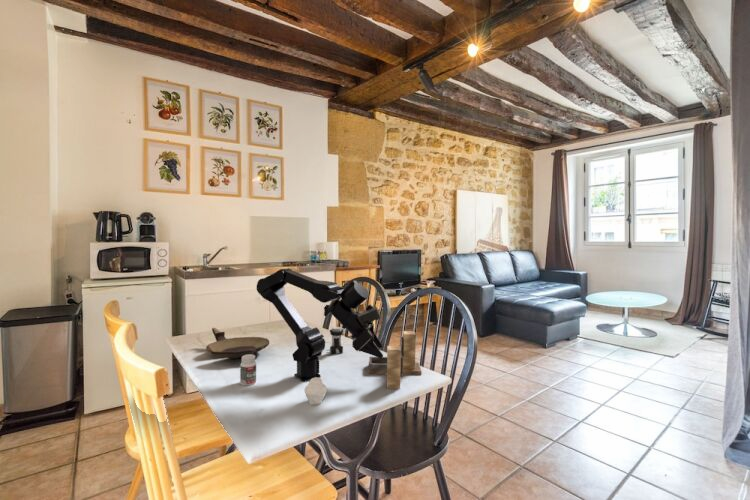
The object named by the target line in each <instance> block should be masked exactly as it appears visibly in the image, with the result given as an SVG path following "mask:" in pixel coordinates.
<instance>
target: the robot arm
mask: <svg viewBox="0 0 750 500" xmlns="http://www.w3.org/2000/svg"><path fill="white" fill-rule="evenodd" d="M287 284H290V285H292V286H294V287H297V288H299V289H301V290H303V291H305V292H308V293H309V294H311V296H312V297H313V298H314V299H316V300H317V301H319V302H320V303H322V304H324V303H329V302H332V303H330V304H325V306H324V307H323V310H324V312H323V316H324V317H327V316H328V315H329V314H331V315H332V316H333V318H335V319H336V321H337V322H339V323H340V324H341V329H342V330H346V331H347V332H349V334H351V338H352V345H351V347H352V348H353V349H354V350H355V351H356V352H362V353H365V354H369V355H371V356H372V357H379V358H382V357H384V354H383V352H381V350H380V349H382V348H383V343H382V342H381V341H380V339H379V337H378V336H377V334H376V332H375V330H374V329H375V324H374V321H378V320H380V319H381V314H380V311H379V309H378V307H377V306H373V305H372V304H369V305H366V306H365V307H366V308H365V310H363V312H361V313H360V311H358V310H355V309H357V308H358V307H359V306H361V304H363V303H364V302H365V301H366V300H367V299H369V297H370V294H369V291H368V289H367V288H366V287H365V286H364V285H363V284H361V283H359V282H358V281H357V280H352V281H351V282H349V284H348V285H347V286H346V287H345V288H344V287H342V286H340V285H339V284H338V283H337V282H334V281H328V280H319V279H315V278H313V277H310V276H308V275H305V274H303V273H300V272H297V271H295V270H293V269H292V268H281V269H278V270H276V272H274V273H272V274H270V275H267V276H266V277H263V278H260V279H258V281H257V283H256V288H255V289H256V291H257V293H258V294H259V295H260V296H261V297H262V298H263V299H264V300H266V301H268V302H270V303H272V305H273V306H274V307H275V309H276V310H277V312H278V314H280V316H281V317H282V319H283V320H284V321H285V323H286V325H287V326H288V327H289V328H290V330H291V332H292V333H293V334H294V336H295V342H296V344H295V345H296V347H297V349H296V350H295V351H294V352H293V353H292V358H293V361H294V362H296V373H294V377H295V378H297V379H298V380H300V381H302V382H308V381H310V380H311V379H312V378H315V377H317V378H320V377H322V375H321V374H320V361H319V357H320V356H322V353H323V352H324V350H325V349H326V340H325V338H324V337H325V335H323V334H322V333H321V331H320V329H319V328H318V327H313V328H311V327H309V325H308V324H307V323H306V322H305V320H304V319H303V317H302V316H301V315H300V313H299V312H298V311H297V309H296V308H295V307H294V305H293V304H292V303H291V301H290V300H289V298H288V297H287V296H286V292H285V286H286V285H287ZM339 298H340V299H339Z"/></svg>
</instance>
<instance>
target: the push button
mask: <svg viewBox="0 0 750 500" xmlns="http://www.w3.org/2000/svg"><path fill="white" fill-rule="evenodd" d="M343 332H344V329H343V328H342V326H341V327H340V326H334V327H332V328H331V329H329V333H330V335H331V345H330V347H329V349H326V351H327V352H325V353H326V354H331V355H336V354H343V353H344V352H343V351H344V346H342V335H343Z"/></svg>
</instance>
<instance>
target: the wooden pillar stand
mask: <svg viewBox="0 0 750 500" xmlns="http://www.w3.org/2000/svg"><path fill="white" fill-rule="evenodd" d="M416 339H417V337H416V332H415V331H411V330H409V331H408V330H403V331H402V336H401V343H400V348H401V354H402V357H403V363H402V375H417V376H418V375H420V376H422V369H421V366H420V363H419V362H416V345H417V344H416V343H417V342H416ZM368 360H369V361H368V370H367V372H368V375H387V356H383V357H382V358H379V357H376V356H369V358H368Z"/></svg>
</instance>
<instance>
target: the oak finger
mask: <svg viewBox="0 0 750 500" xmlns="http://www.w3.org/2000/svg"><path fill="white" fill-rule="evenodd" d="M386 347H387V348H386V349H387V351H386V352H387V353H386V354H387V355H386V357H387V374H386V387H387V389H401V378H402V377H403V374H402V363H403V357H402V354H401V345H387V346H386Z"/></svg>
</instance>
